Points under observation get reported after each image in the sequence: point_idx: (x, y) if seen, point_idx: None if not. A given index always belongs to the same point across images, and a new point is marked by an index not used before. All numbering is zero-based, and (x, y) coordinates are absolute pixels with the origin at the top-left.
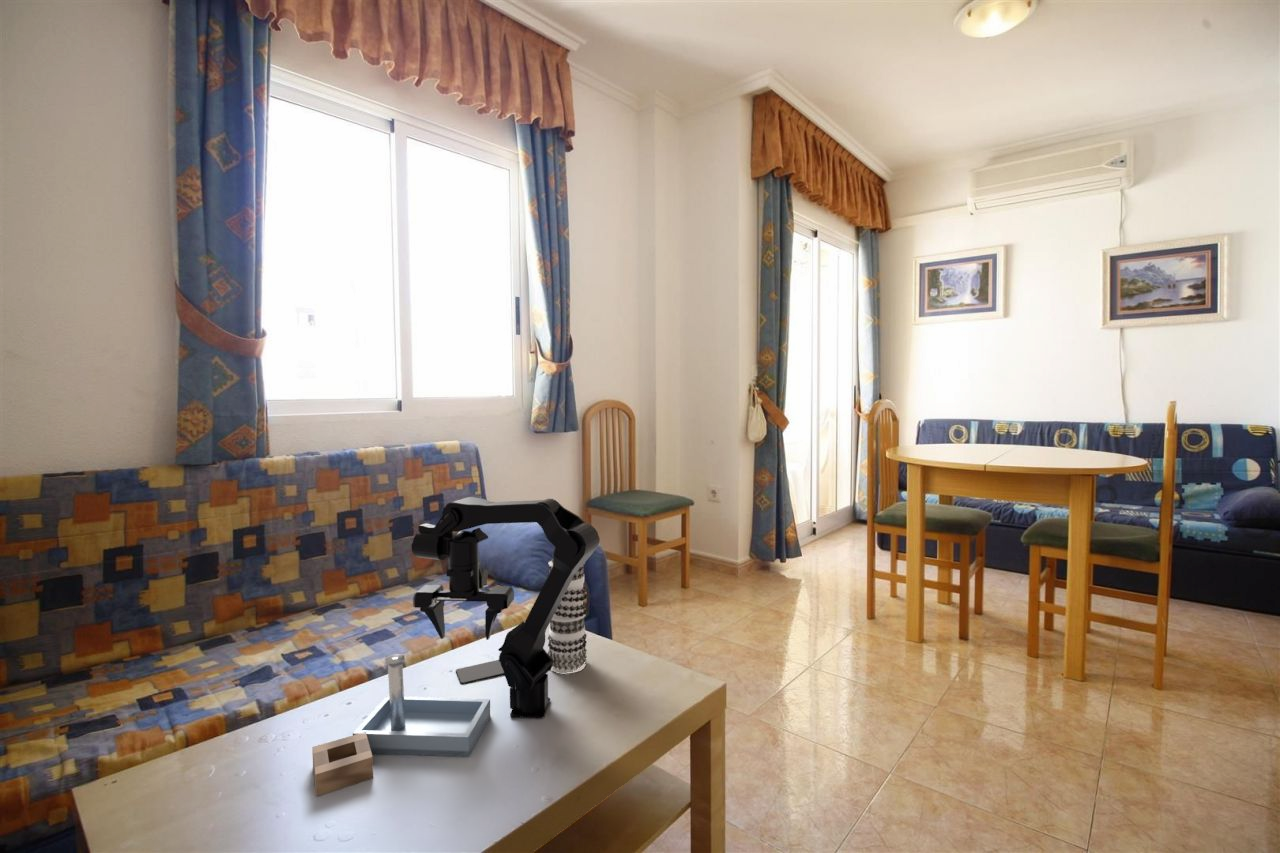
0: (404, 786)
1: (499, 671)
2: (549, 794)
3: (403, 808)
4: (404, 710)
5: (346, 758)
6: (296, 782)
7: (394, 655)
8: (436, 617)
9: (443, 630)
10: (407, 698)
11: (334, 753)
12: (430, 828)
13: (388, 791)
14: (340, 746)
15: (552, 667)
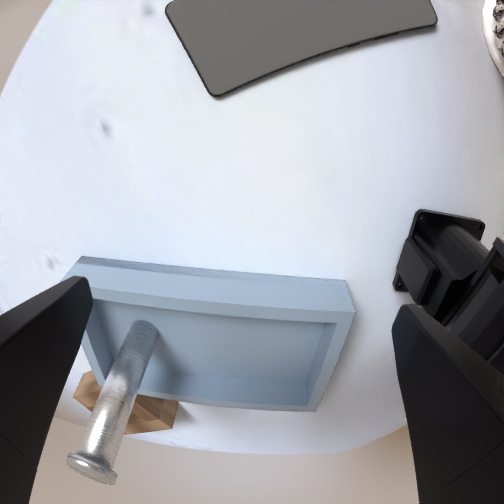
0: (231, 415)
1: (341, 28)
2: None
3: (246, 434)
4: (146, 358)
5: (137, 424)
6: None
7: (77, 465)
8: (35, 468)
9: (68, 325)
10: (114, 297)
11: None
12: (286, 447)
13: (214, 418)
14: None
15: (497, 50)
